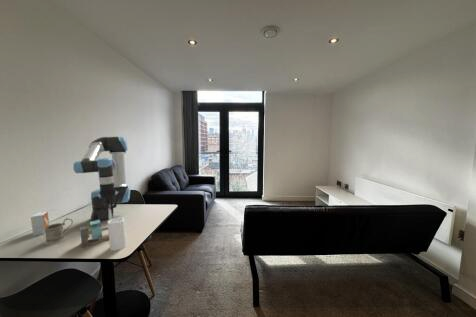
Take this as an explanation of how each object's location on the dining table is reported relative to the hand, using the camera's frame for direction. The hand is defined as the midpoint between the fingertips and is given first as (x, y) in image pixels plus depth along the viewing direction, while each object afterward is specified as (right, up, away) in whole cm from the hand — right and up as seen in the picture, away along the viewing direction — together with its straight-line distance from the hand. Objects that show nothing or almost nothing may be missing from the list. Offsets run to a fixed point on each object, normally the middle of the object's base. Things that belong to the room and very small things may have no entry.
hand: (110, 219), depth 130 cm
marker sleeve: (-6, -9, -5) cm, 12 cm away
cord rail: (-4, -12, -3) cm, 13 cm away
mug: (-31, -13, -1) cm, 34 cm away
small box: (-53, -12, +9) cm, 55 cm away
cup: (+12, -13, -11) cm, 21 cm away
